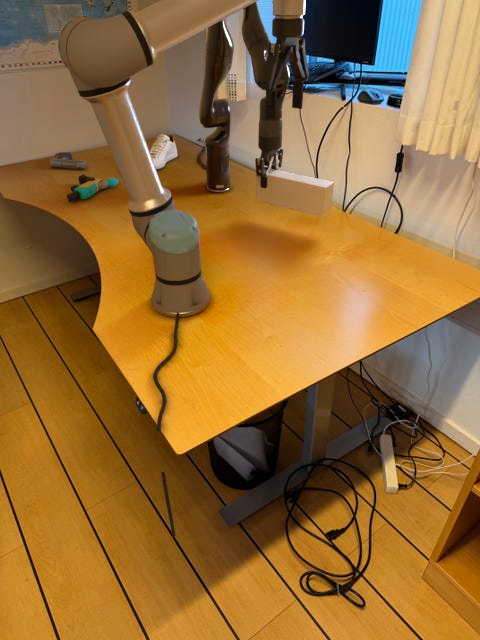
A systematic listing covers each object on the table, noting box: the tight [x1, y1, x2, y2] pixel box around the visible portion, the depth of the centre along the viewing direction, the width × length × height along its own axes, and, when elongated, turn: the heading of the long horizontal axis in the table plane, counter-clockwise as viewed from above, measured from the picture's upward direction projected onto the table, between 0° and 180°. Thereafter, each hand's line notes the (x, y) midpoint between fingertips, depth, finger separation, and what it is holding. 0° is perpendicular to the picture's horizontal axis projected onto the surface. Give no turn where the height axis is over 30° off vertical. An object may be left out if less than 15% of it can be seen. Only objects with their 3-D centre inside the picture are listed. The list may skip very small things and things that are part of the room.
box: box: [255, 168, 335, 218], centre depth 156 cm, size 25×6×10 cm, turn 56°
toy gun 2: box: [66, 173, 120, 203], centre depth 188 cm, size 4×26×15 cm
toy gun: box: [48, 151, 87, 170], centre depth 217 cm, size 4×19×15 cm
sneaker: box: [149, 133, 179, 170], centre depth 214 cm, size 10×29×12 cm, turn 163°
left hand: (284, 113), depth 124 cm, fingers open, 13 cm apart
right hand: (268, 184), depth 160 cm, fingers closed on box, 6 cm apart
